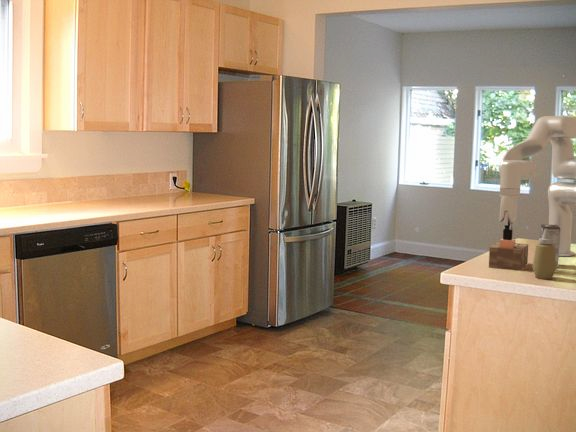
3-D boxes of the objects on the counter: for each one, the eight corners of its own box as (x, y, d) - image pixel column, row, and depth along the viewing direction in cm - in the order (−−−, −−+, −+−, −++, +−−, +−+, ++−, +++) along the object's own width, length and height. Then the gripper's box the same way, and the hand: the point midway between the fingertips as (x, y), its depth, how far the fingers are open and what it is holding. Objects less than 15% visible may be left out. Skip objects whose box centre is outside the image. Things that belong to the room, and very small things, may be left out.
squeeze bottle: (529, 275, 267) (531, 227, 265) (551, 275, 267) (553, 227, 265) (535, 279, 259) (538, 230, 257) (558, 280, 259) (561, 230, 257)
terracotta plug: (501, 253, 286) (502, 238, 286) (514, 254, 284) (515, 239, 283) (499, 255, 282) (499, 239, 281) (512, 256, 280) (513, 240, 279)
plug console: (497, 261, 297) (497, 241, 296) (527, 263, 291) (528, 244, 290) (488, 267, 283) (489, 247, 282) (520, 270, 277) (521, 249, 276)
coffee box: (538, 263, 293) (540, 224, 291) (555, 263, 292) (557, 224, 290) (541, 267, 284) (543, 226, 283) (558, 268, 283) (561, 227, 281)
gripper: (503, 191, 288) (501, 236, 290) (496, 193, 275) (493, 241, 277) (523, 192, 285) (520, 238, 287) (516, 194, 272) (513, 242, 274)
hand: (507, 239), depth 282 cm, fingers closed
